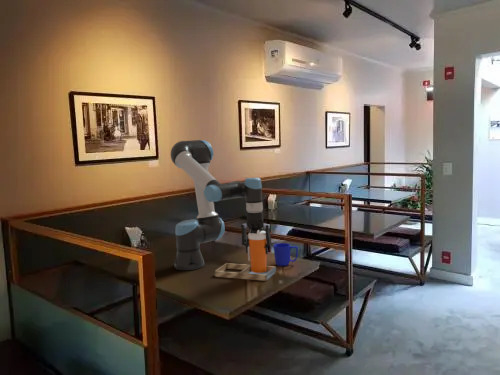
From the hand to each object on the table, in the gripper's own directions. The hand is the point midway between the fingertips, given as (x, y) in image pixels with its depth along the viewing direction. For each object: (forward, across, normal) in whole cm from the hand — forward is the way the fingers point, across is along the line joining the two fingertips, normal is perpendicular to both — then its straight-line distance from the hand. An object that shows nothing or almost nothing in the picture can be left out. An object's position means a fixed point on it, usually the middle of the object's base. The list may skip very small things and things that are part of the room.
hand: (257, 260), depth 192 cm
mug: (+7, +8, +19) cm, 22 cm away
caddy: (+7, -6, 0) cm, 10 cm away
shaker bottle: (+5, 0, 0) cm, 5 cm away
